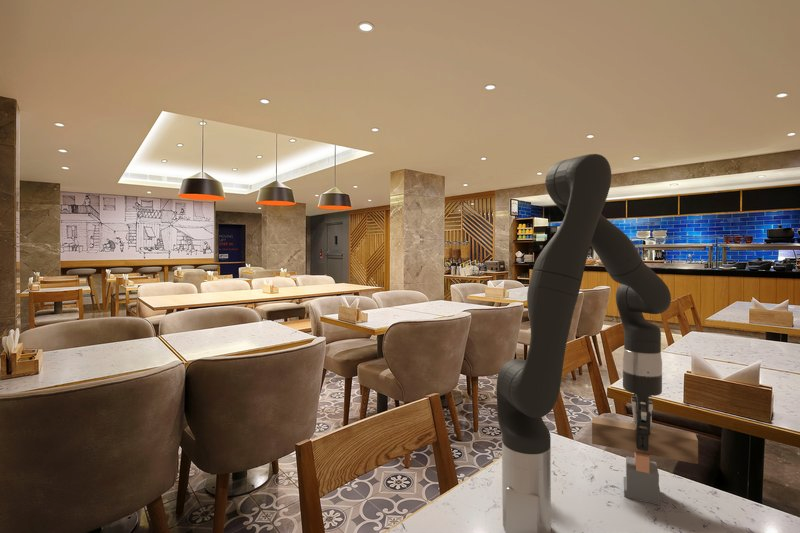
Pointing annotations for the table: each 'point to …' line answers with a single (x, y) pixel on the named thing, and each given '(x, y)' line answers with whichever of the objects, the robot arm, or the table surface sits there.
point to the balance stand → (642, 479)
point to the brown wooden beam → (659, 440)
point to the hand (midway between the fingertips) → (641, 445)
